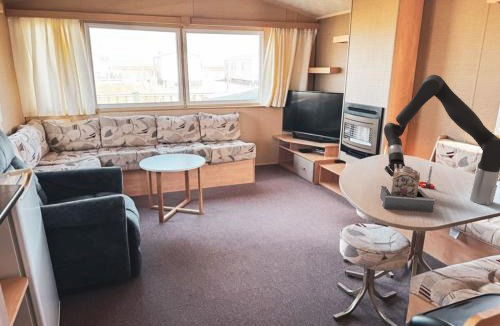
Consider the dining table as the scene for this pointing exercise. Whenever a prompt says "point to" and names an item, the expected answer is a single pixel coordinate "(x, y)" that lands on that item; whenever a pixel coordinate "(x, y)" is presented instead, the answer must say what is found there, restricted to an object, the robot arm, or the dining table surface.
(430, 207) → the grey tray
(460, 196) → the dining table surface
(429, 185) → the tow hook
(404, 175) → the decorative jar
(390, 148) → the robot arm
